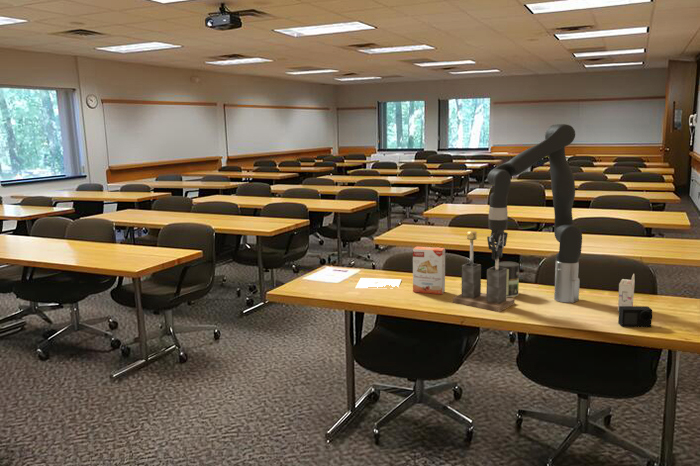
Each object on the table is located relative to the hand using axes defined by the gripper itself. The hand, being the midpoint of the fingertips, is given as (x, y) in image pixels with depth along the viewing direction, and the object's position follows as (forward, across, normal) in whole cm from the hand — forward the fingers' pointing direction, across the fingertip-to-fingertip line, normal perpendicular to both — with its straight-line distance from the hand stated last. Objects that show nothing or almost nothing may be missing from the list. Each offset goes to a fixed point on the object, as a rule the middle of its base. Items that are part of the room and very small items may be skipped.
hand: (497, 258), depth 236 cm
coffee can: (+21, +18, +4) cm, 28 cm away
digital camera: (+21, +8, -52) cm, 57 cm away
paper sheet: (+21, -8, +59) cm, 63 cm away
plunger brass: (+9, 0, +12) cm, 15 cm away
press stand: (+21, 0, +6) cm, 21 cm away
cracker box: (+21, 0, +34) cm, 40 cm away
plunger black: (+14, 0, 0) cm, 14 cm away
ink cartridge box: (+21, +26, -44) cm, 55 cm away
